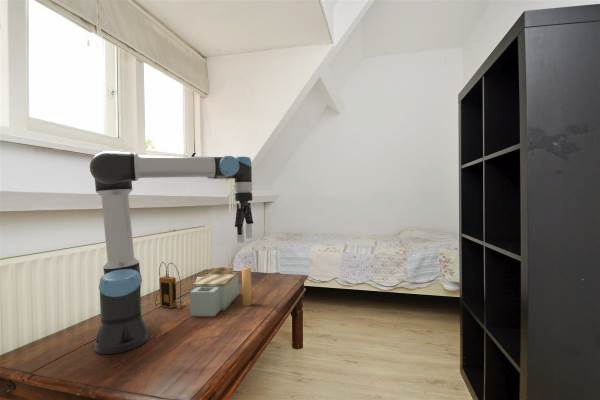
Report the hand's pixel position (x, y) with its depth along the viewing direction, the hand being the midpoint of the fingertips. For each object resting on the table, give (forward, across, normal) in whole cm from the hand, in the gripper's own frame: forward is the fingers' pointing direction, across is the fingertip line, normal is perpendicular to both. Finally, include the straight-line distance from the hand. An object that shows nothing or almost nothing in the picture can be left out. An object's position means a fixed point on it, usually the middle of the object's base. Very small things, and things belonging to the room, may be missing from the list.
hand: (245, 240), depth 134 cm
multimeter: (+29, -1, -34) cm, 45 cm away
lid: (+19, -4, -15) cm, 24 cm away
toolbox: (+29, 0, -15) cm, 32 cm away
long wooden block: (+29, 0, 0) cm, 29 cm away
